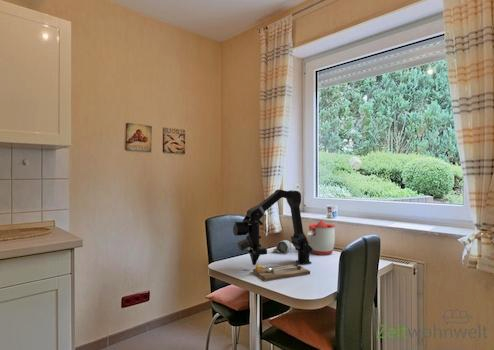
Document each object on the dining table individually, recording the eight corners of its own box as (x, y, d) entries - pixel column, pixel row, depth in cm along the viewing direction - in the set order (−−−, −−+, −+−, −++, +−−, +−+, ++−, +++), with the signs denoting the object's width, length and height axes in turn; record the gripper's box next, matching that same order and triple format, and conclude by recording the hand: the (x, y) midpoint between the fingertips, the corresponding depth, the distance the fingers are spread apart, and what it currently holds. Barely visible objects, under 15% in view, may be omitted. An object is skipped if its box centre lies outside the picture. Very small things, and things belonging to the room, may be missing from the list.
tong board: (252, 272, 152) (252, 265, 152) (294, 266, 161) (294, 260, 161) (265, 281, 139) (265, 274, 139) (310, 274, 148) (310, 267, 148)
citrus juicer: (301, 251, 191) (301, 219, 191) (323, 248, 199) (323, 217, 199) (317, 257, 177) (317, 223, 177) (340, 254, 184) (340, 221, 184)
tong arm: (265, 271, 147) (265, 267, 147) (296, 267, 154) (296, 263, 154) (267, 273, 145) (267, 269, 145) (298, 268, 152) (298, 264, 152)
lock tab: (255, 269, 151) (255, 265, 151) (260, 268, 151) (260, 264, 151) (258, 271, 148) (258, 267, 148) (262, 270, 149) (262, 266, 149)
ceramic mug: (292, 251, 192) (292, 239, 192) (288, 254, 184) (287, 241, 184) (276, 250, 196) (276, 238, 196) (271, 253, 189) (271, 240, 189)
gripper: (232, 232, 161) (232, 261, 161) (246, 238, 144) (246, 272, 144) (251, 230, 165) (252, 259, 165) (267, 236, 148) (267, 269, 148)
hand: (254, 264), depth 155 cm, fingers closed
